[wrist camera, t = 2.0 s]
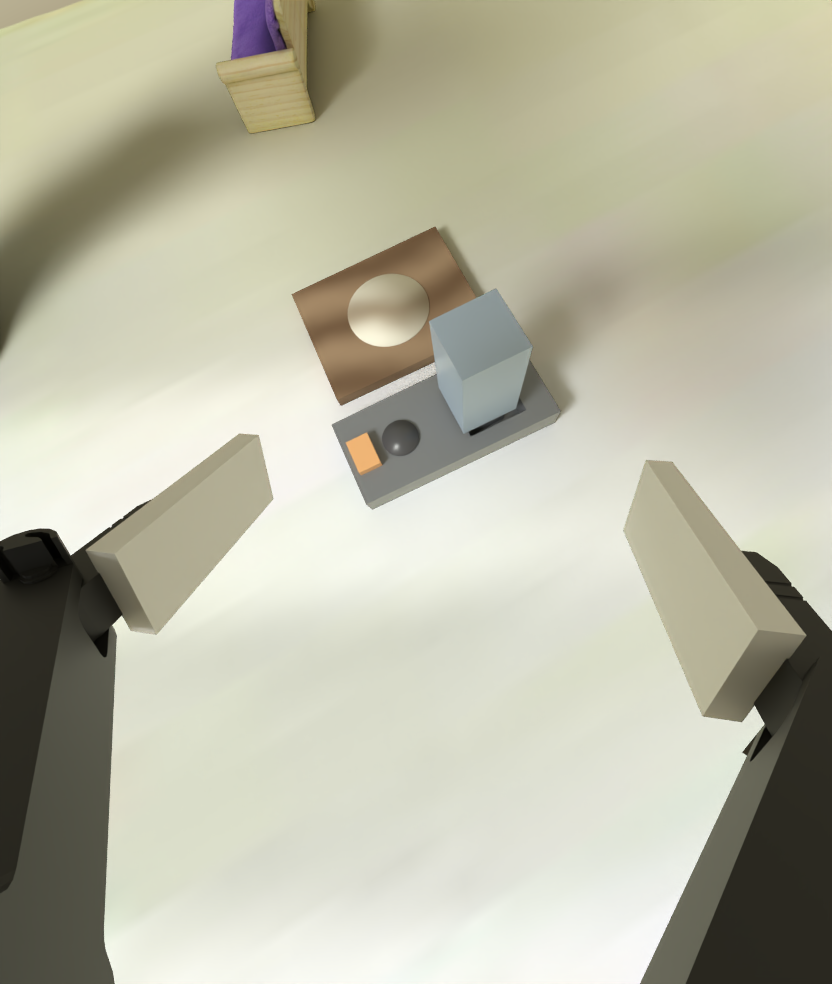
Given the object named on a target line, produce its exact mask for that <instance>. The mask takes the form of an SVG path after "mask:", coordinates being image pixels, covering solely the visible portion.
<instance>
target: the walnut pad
mask: <svg viewBox="0 0 832 984" xmlns="http://www.w3.org/2000/svg"><path fill="white" fill-rule="evenodd" d="M292 296H293V299H294V301H295V303H296V305H297V308H298V310H299V312H300V315H301V317H302V319H303V322H304V324H305V326H306V329H307V331H308V333H309V336H310V338H311V340H312V343H313V345H314V347H315V350H316V352H317V354H318V357H319V359H320V361H321V364H322V366H323V368H324V370H325V373H326V375H327V377H328V380H329V382H330V384H331V387H332V389H333V391H334V394H335V396H336V398H337V400H338V402H339V403H340V405H344V404H346V403H348V402H350V401H352V400H354V399H356V398H358V397H361V396H363V395H365V394H367V393H369V392H371V391H373V390H376V389H378V388H380V387H382V386H384V385H386V384H388V383H391V382H393V381H395V380H397V379H399V378H401V377H403V376H406V375H408V374H410V373H412V372H414V371H416V370H418V369H421V368H423V367H425V366H427V365H429V364H431V363H433V362H435V359H434V352H433V345H432V338H431V331H430V324H429V321H430V320H432V319H434V318H436V317H438V316H441V315H443V314H445V313H447V312H449V311H451V310H453V309H455V308H457V307H459V306H461V305H463V304H465V303H467V302H469V301H471V300H473V299H475V298H476V296H475V294H474V293H473V291H472V289H471V287H470V286H469V284H468V282H467V280H466V279H465V277H464V275H463V274H462V272H461V270H460V268H459V267H458V265H457V263H456V261H455V260H454V258H453V256H452V255H451V253H450V251H449V249H448V248H447V246H446V244H445V242H444V241H443V239H442V237H441V236H440V234H439V232H438V230H437V229H436V227H433V228H431V229H429V230H427V231H425V232H423V233H420V234H418V235H416V236H414V237H412V238H410V239H408V240H406V241H404V242H401V243H399V244H397V245H395V246H393V247H391V248H389V249H387V250H385V251H382V252H380V253H378V254H376V255H374V256H372V257H370V258H368V259H365V260H363V261H361V262H359V263H357V264H355V265H353V266H351V267H349V268H346V269H344V270H342V271H340V272H338V273H336V274H334V275H332V276H330V277H327V278H325V279H323V280H321V281H319V282H317V283H315V284H313V285H310V286H308V287H306V288H304V289H302V290H300V291H298V292H296V293H294V294H292Z"/></svg>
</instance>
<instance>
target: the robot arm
mask: <svg viewBox="0 0 832 984" xmlns="http://www.w3.org/2000/svg"><path fill="white" fill-rule="evenodd" d="M272 500H273V495H272V491H271V486H270V482H269V478H268V473H267V469H266V465H265V460H264V456H263V452H262V447H261V443H260V439H259V435H250V434H238V435H237V436H236V437H234V438H233V439H232V440H230V441H229V442H228V443H226V444H225V445H224V446H222V447H221V448H220V449H218V450H217V451H216V452H215V453H213V454H212V455H211V456H209V457H208V458H207V459H205V460H204V461H203V462H201V463H200V464H199V465H197V466H196V467H195V468H193V469H192V470H191V471H189V472H188V473H187V474H185V475H184V476H183V477H181V478H180V479H179V480H177V481H176V482H175V483H174V484H172V485H171V486H170V487H168V488H167V489H166V490H164V491H163V492H162V493H160V494H159V495H158V496H156V497H155V498H154V499H152V500H150V501H147V502H145V503H143V504H141V505H139V506H137V507H136V508H134V509H133V510H132V511H130V512H129V513H128V514H126V515H125V516H124V517H123V519H120V520H118V521H117V522H115V523H114V524H113V525H112V527H111V528H110V527H109V528H107V529H106V530H105V531H103V532H102V533H101V534H99V535H98V536H97V537H95V538H94V539H93V540H91V541H90V542H89V543H87V544H86V545H85V546H83V547H82V548H81V549H79V550H78V551H76V552H75V553H74V554H72V555H71V556H70V554H69V552H68V550H67V549H66V547H65V545H64V544H63V542H62V540H61V539H60V537H59V535H58V534H57V532H56V531H54V530H52V529H35V530H29V531H25V532H22V533H19V534H15V535H12V536H10V537H8V538H6V539H4V540H2V541H0V984H115V983H114V977H113V971H112V968H111V965H110V962H109V959H108V956H107V953H106V950H105V943H104V913H105V890H106V867H107V844H108V821H109V798H110V775H111V753H112V730H113V707H114V684H115V661H116V638H117V635H116V632H115V629H114V628H113V626H112V625H113V624H114V623H115V622H116V621H117V620H118V619H119V618H120V617H121V616H123V618H124V620H125V621H126V623H127V625H128V627H129V628H130V630H131V631H135V632H142V633H149V634H155V635H157V634H158V632H159V631H160V630H161V629H162V628H163V627H164V625H165V624H166V623H167V622H168V621H169V620H170V618H171V617H172V616H173V615H174V614H175V613H176V612H177V610H178V609H179V608H180V607H181V606H182V605H183V603H184V602H185V601H186V600H187V599H188V598H189V596H190V595H191V594H192V593H193V592H194V591H195V589H196V588H197V587H198V586H199V585H200V584H201V583H202V581H203V580H204V579H205V578H206V577H207V576H208V574H209V573H210V572H211V571H212V570H213V569H214V567H215V566H216V565H217V564H218V563H219V562H220V560H221V559H222V558H223V557H224V556H225V555H226V553H227V552H228V551H229V550H230V549H231V548H232V547H233V545H234V544H235V543H236V542H237V541H238V540H239V538H240V537H241V536H242V535H243V534H244V533H245V531H246V530H247V529H248V528H249V527H250V526H251V524H252V523H253V522H254V521H255V520H256V519H257V518H258V516H259V515H260V514H261V513H262V512H263V511H264V509H265V508H266V507H267V506H268V505H269V504H270V502H271V501H272ZM623 531H624V533H625V535H626V538H627V540H628V543H629V545H630V547H631V550H632V552H633V554H634V557H635V559H636V561H637V564H638V566H639V568H640V571H641V573H642V575H643V578H644V580H645V582H646V585H647V587H648V589H649V592H650V594H651V597H652V599H653V601H654V604H655V606H656V608H657V611H658V613H659V615H660V618H661V620H662V622H663V625H664V627H665V629H666V632H667V634H668V636H669V639H670V641H671V643H672V646H673V648H674V651H675V653H676V655H677V658H678V660H679V662H680V665H681V667H682V669H683V672H684V674H685V676H686V679H687V681H688V683H689V686H690V688H691V690H692V693H693V695H694V697H695V700H696V702H697V705H698V707H699V709H700V712H701V714H702V716H704V717H711V718H718V719H724V720H731V721H738V722H742V721H743V720H744V719H745V717H746V716H747V715H748V713H749V712H750V711H751V709H752V708H753V707H754V705H755V707H756V709H757V710H758V712H759V714H760V716H761V718H762V720H763V721H764V723H765V725H764V726H763V727H762V728H761V730H760V731H759V732H758V733H757V735H756V736H755V737H754V738H753V740H752V741H751V742H750V743H749V745H748V746H747V747H746V748H745V750H744V751H743V753H744V754H745V755H747V757H746V759H745V761H744V764H743V766H742V768H741V770H740V772H739V774H738V776H737V778H736V781H735V783H734V785H733V787H732V789H731V791H730V793H729V796H728V798H727V800H726V802H725V804H724V806H723V808H722V810H721V813H720V815H719V817H718V819H717V821H716V823H715V825H714V827H713V830H712V832H711V834H710V836H709V838H708V840H707V842H706V845H705V847H704V849H703V851H702V853H701V855H700V857H699V859H698V862H697V864H696V866H695V868H694V870H693V872H692V874H691V876H690V879H689V881H688V883H687V885H686V887H685V889H684V891H683V894H682V896H681V898H680V900H679V902H678V904H677V906H676V908H675V911H674V913H673V915H672V917H671V919H670V921H669V923H668V925H667V928H666V930H665V932H664V934H663V936H662V938H661V940H660V943H659V945H658V947H657V949H656V951H655V953H654V955H653V957H652V960H651V962H650V964H649V966H648V968H647V970H646V972H645V974H644V977H643V979H642V981H641V983H640V984H832V631H831V630H830V629H829V627H828V626H827V625H826V624H825V623H824V621H823V620H822V619H821V618H820V617H819V616H818V614H817V613H816V612H815V611H814V610H813V608H812V607H811V606H810V605H809V604H808V603H807V601H803V597H802V595H801V594H800V593H799V592H798V591H797V590H796V588H795V587H792V586H791V582H790V581H789V580H788V579H787V578H786V577H785V575H784V574H783V573H782V572H781V571H780V569H779V568H778V567H777V566H775V565H774V564H772V563H771V562H769V561H768V560H767V559H765V558H764V557H762V556H761V555H760V554H758V553H757V552H747V551H741V550H740V549H739V548H738V546H737V545H736V544H735V542H734V541H733V540H732V539H731V537H730V536H729V535H728V533H727V532H726V531H725V530H724V528H723V527H722V526H721V524H720V523H719V522H718V520H717V519H716V518H715V517H714V515H713V514H712V513H711V511H710V510H709V509H708V508H707V506H706V505H705V504H704V502H703V501H702V500H701V499H700V497H699V496H698V495H697V493H696V492H695V491H694V489H693V488H692V487H691V486H690V484H689V483H688V482H687V480H686V479H685V478H684V477H683V475H682V474H681V473H680V471H679V470H678V469H677V467H676V466H675V465H674V464H673V462H666V461H650V460H646V461H645V465H644V468H643V471H642V474H641V477H640V480H639V483H638V486H637V489H636V493H635V496H634V499H633V502H632V505H631V508H630V511H629V514H628V517H627V520H626V524H625V527H624V530H623Z"/></svg>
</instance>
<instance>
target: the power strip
mask: <svg viewBox="0 0 832 984" xmlns="http://www.w3.org/2000/svg"><path fill="white" fill-rule="evenodd" d="M560 412H561V411H560V409H559V407H558V406H557V404H556V402H555V401H554V399H553V397H552V396H551V394H550V393H549V391H548V389H547V388H546V386H545V384H544V383H543V381H542V379H541V378H540V376H539V374H538V373H537V371H536V370H535V368H534V366H533V365H532V363H531V361H530V360H529V363H528V366H527V370H526V374H525V377H524V381H523V385H522V388H521V392H520V396H519V399H518V403H517V407H516V409H514V410H512V411H510V412H508V413H506V414H504V418H503V419H502V420H500V421H498V422H496V423H494V424H492V425H490V426H487V427H485V428H483V429H481V430H479V431H477V432H475V433H473V434H471V435H470V434H469V432H467V433H465V434H463V432H462V430H461V428H460V426H459V424H458V422H457V421H456V419H455V417H454V415H453V413H452V411H451V409H450V408H449V406H448V404H447V402H446V400H445V398H444V396H443V395H442V393H441V391H440V389H439V387H438V380H437V374H436V375H434V376H432V377H430V378H428V379H425V380H423V381H421V382H419V383H417V384H415V385H413V386H411V387H409V388H407V389H405V390H403V391H401V392H398V393H396V394H394V395H392V396H390V397H388V398H386V399H384V400H382V401H380V402H378V403H376V404H374V405H371V406H369V407H367V408H365V409H363V410H361V411H359V412H357V413H355V414H353V415H351V416H349V417H347V418H344V419H342V420H340V421H338V422H336V423H334V424H332V427H333V429H334V431H335V434H336V436H337V438H338V441H339V443H340V445H341V448H342V450H343V452H344V454H345V457H346V459H347V461H348V464H349V466H350V468H351V470H352V473H353V475H354V477H355V480H356V482H357V484H358V487H359V489H360V491H361V493H362V496H363V498H364V500H365V503H366V505H368V506H369V507H370V508H371V509H375V508H377V507H379V506H381V505H383V504H385V503H387V502H390V501H392V500H394V499H396V498H398V497H400V496H402V495H404V494H406V493H408V492H410V491H413V490H415V489H417V488H419V487H421V486H423V485H425V484H427V483H429V482H431V481H434V480H436V479H438V478H440V477H442V476H444V475H446V474H448V473H450V472H452V471H454V470H457V469H459V468H461V467H463V466H465V465H467V464H469V463H471V462H473V461H475V460H477V459H480V458H482V457H484V456H486V455H488V454H490V453H492V452H494V451H496V450H498V449H501V448H503V447H505V446H507V445H509V444H511V443H513V442H515V441H517V440H519V439H521V438H524V437H526V436H528V435H530V434H532V433H534V432H536V431H538V430H540V429H542V428H545V427H547V426H549V425H551V424H553V423H555V421H556V419H557V417H558V416H559V414H560Z"/></svg>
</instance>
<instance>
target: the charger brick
mask: <svg viewBox="0 0 832 984" xmlns="http://www.w3.org/2000/svg"><path fill="white" fill-rule="evenodd" d="M429 324H430V331H431V338H432V345H433V352H434V359H435V366H436V373H437V380H438V387H439V389H440V391H441V393H442V395H443V396H444V398H445V400H446V402H447V404H448V406H449V408H450V409H451V411H452V413H453V415H454V417H455V419H456V421H457V422H458V424H459V426H460V428H461V430H462V432H463V434H465V433H467V432H469V434H470V435H471V434H473V433H475V432H477V431H479V430H481V429H483V428H485V427H487V426H490V425H492V424H494V423H496V422H498V421H500V420H502V419H503V418H504V414H506V413H508V412H510V411H512V410H514V409H516V407H517V403H518V399H519V396H520V392H521V388H522V385H523V381H524V377H525V374H526V370H527V366H528V363H529V359H530V355H531V352H532V348H533V346H532V344H531V343H530V341H529V339H528V338H527V336H526V335H525V333H524V332H523V330H522V328H521V327H520V325H519V324H518V322H517V320H516V319H515V317H514V316H513V314H512V313H511V311H510V309H509V308H508V306H507V305H506V303H505V301H504V300H503V298H502V297H501V295H500V294H499V292H498V290H497V289H494V290H492V291H490V292H488V293H485V294H483V295H481V296H479V297H477V298H475V299H473V300H471V301H469V302H467V303H465V304H463V305H461V306H459V307H457V308H455V309H453V310H451V311H449V312H447V313H445V314H443V315H441V316H438V317H436V318H434V319H432V320H430V321H429Z"/></svg>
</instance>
